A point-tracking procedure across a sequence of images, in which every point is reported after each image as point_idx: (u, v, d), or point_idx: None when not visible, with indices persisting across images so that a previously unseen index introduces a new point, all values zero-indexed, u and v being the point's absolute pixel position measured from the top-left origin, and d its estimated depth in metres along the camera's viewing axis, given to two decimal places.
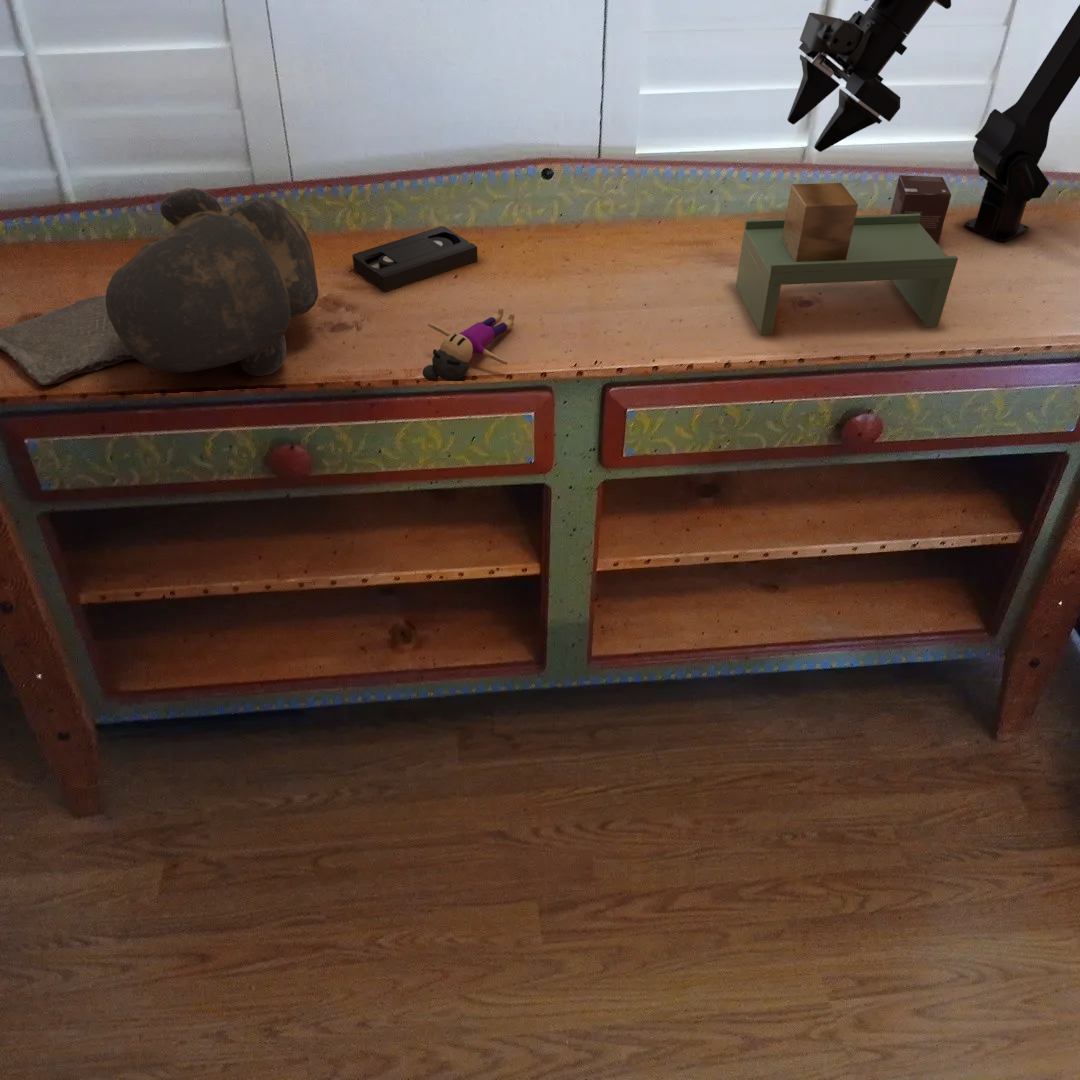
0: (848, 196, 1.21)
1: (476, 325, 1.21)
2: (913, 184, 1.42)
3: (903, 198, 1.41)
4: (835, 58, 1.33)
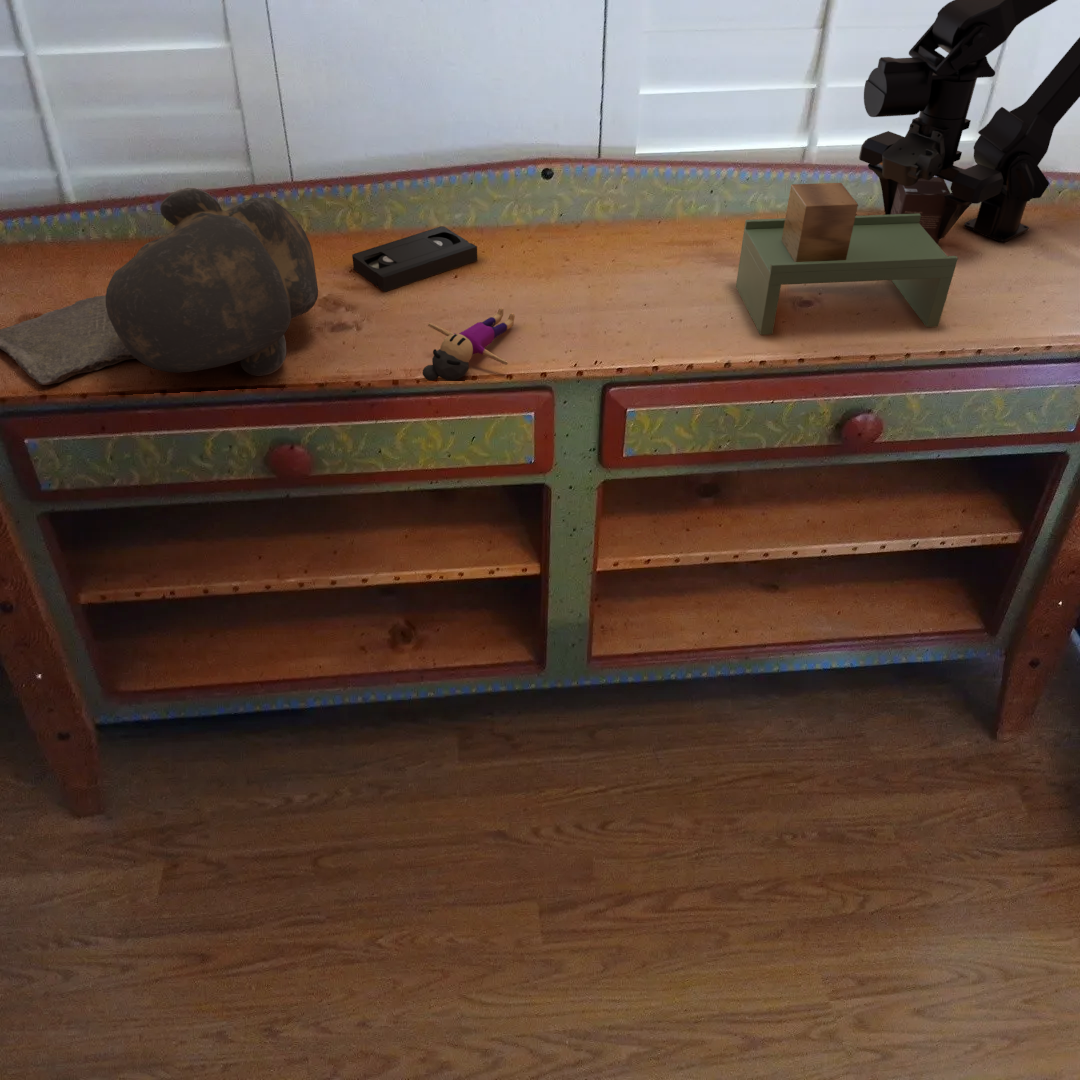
0: (848, 196, 1.21)
1: (476, 325, 1.21)
2: None
3: (903, 198, 1.41)
4: None
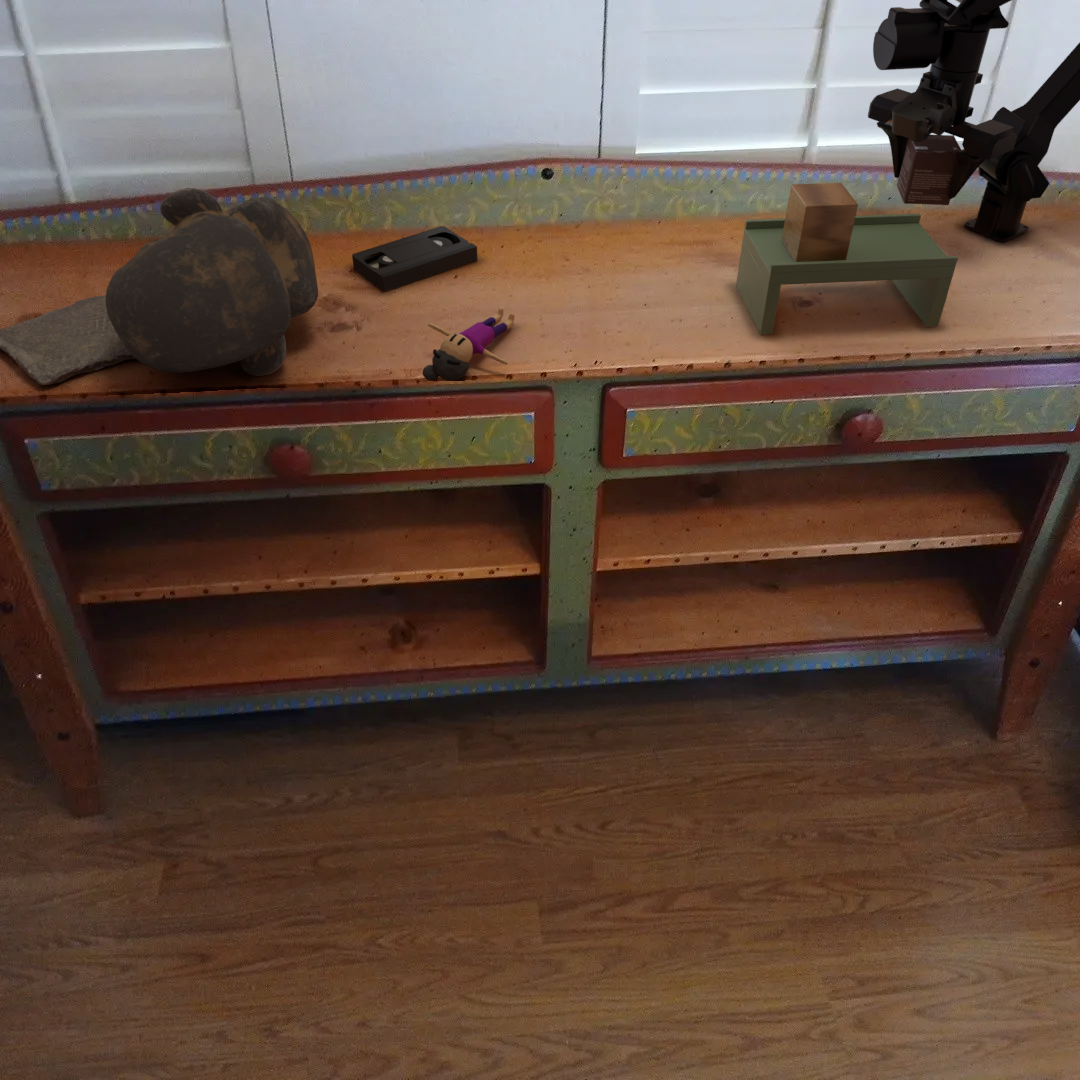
0: (848, 196, 1.21)
1: (476, 325, 1.21)
2: (923, 142, 1.39)
3: (913, 156, 1.38)
4: None
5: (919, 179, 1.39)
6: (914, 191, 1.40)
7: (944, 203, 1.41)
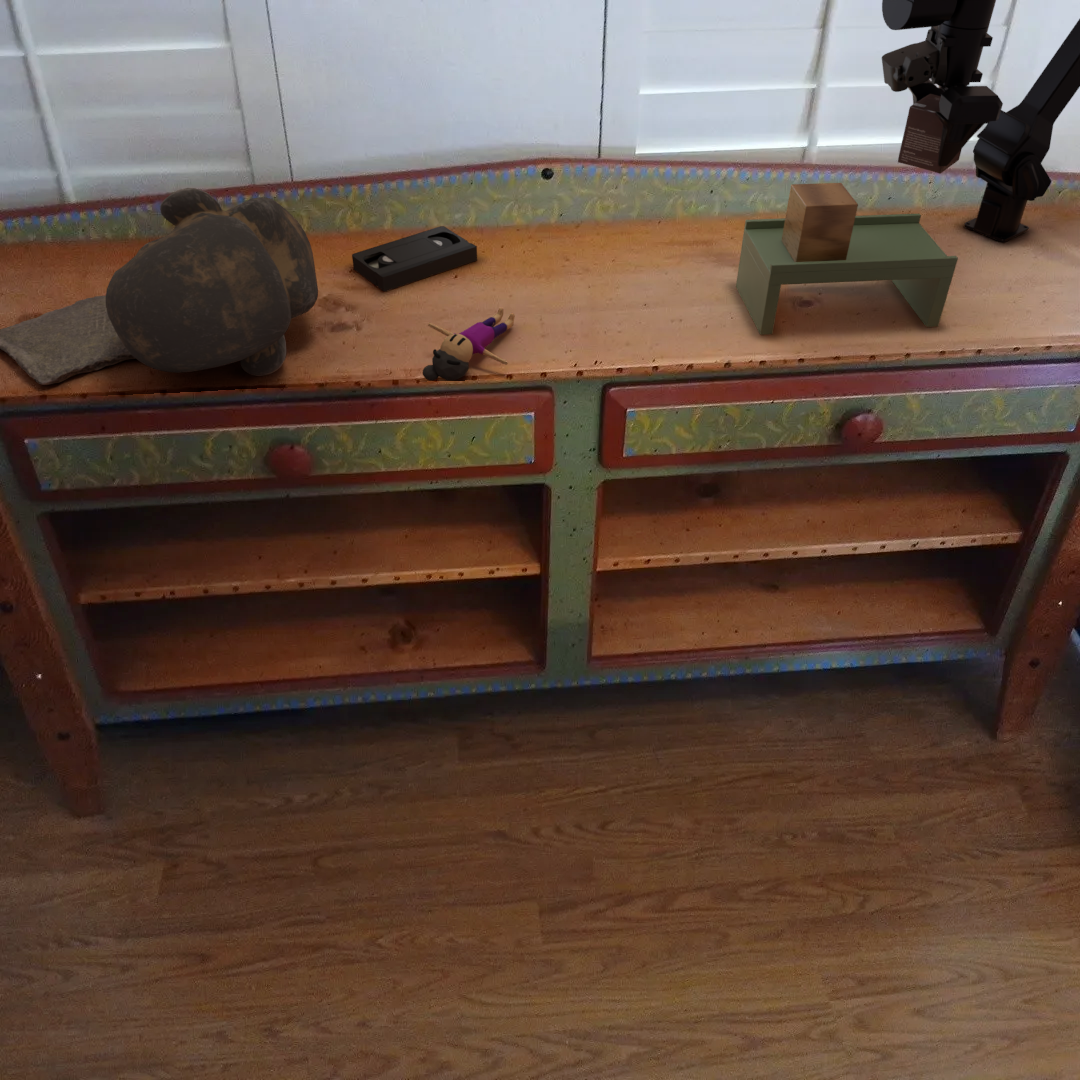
0: (848, 196, 1.21)
1: (476, 325, 1.21)
2: (930, 102, 1.34)
3: None
4: None
5: (912, 138, 1.34)
6: (907, 150, 1.36)
7: (936, 170, 1.35)
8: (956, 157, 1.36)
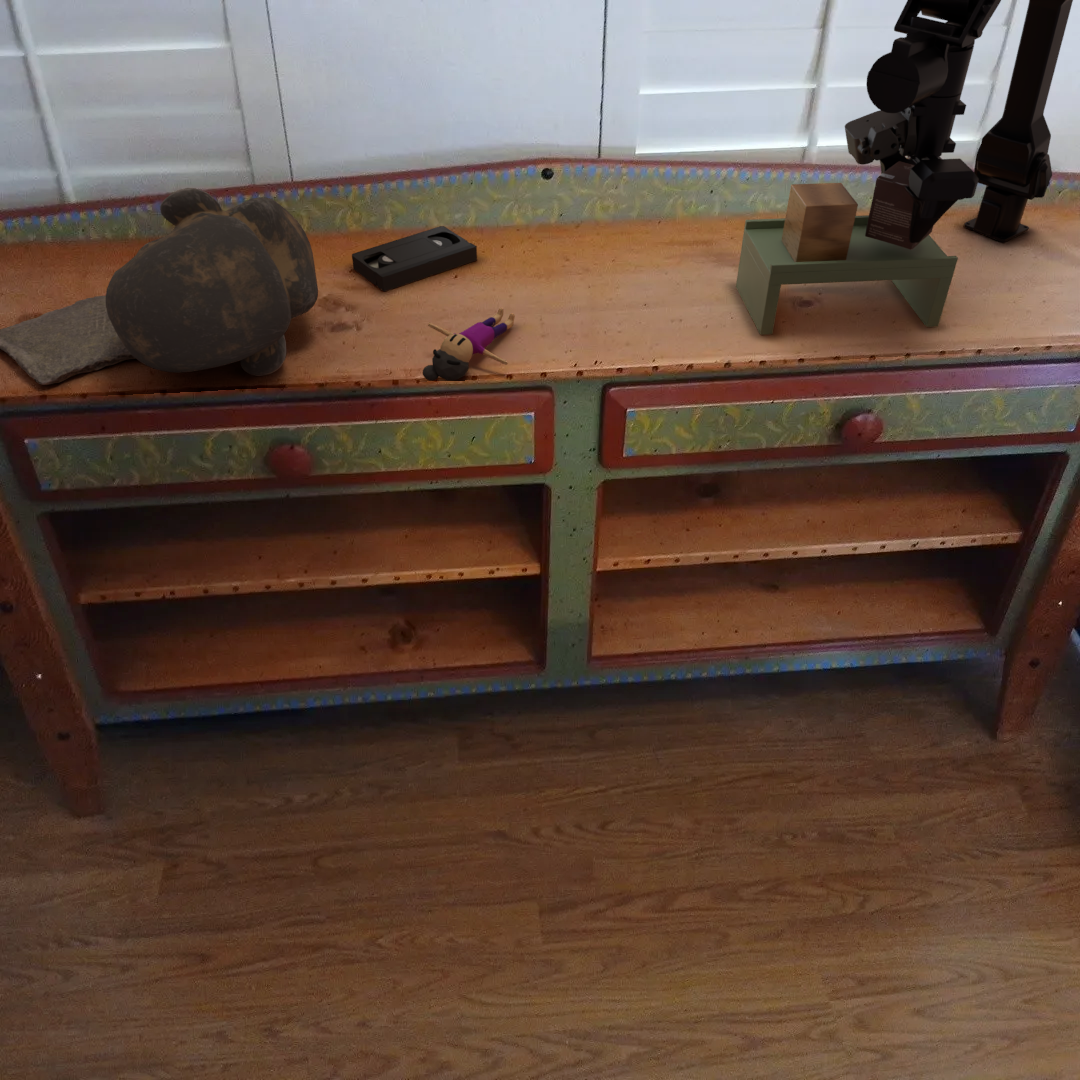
0: (848, 196, 1.21)
1: (476, 326, 1.21)
2: (898, 171, 1.21)
3: None
4: None
5: (880, 211, 1.22)
6: (875, 224, 1.23)
7: (907, 246, 1.22)
8: (929, 230, 1.24)
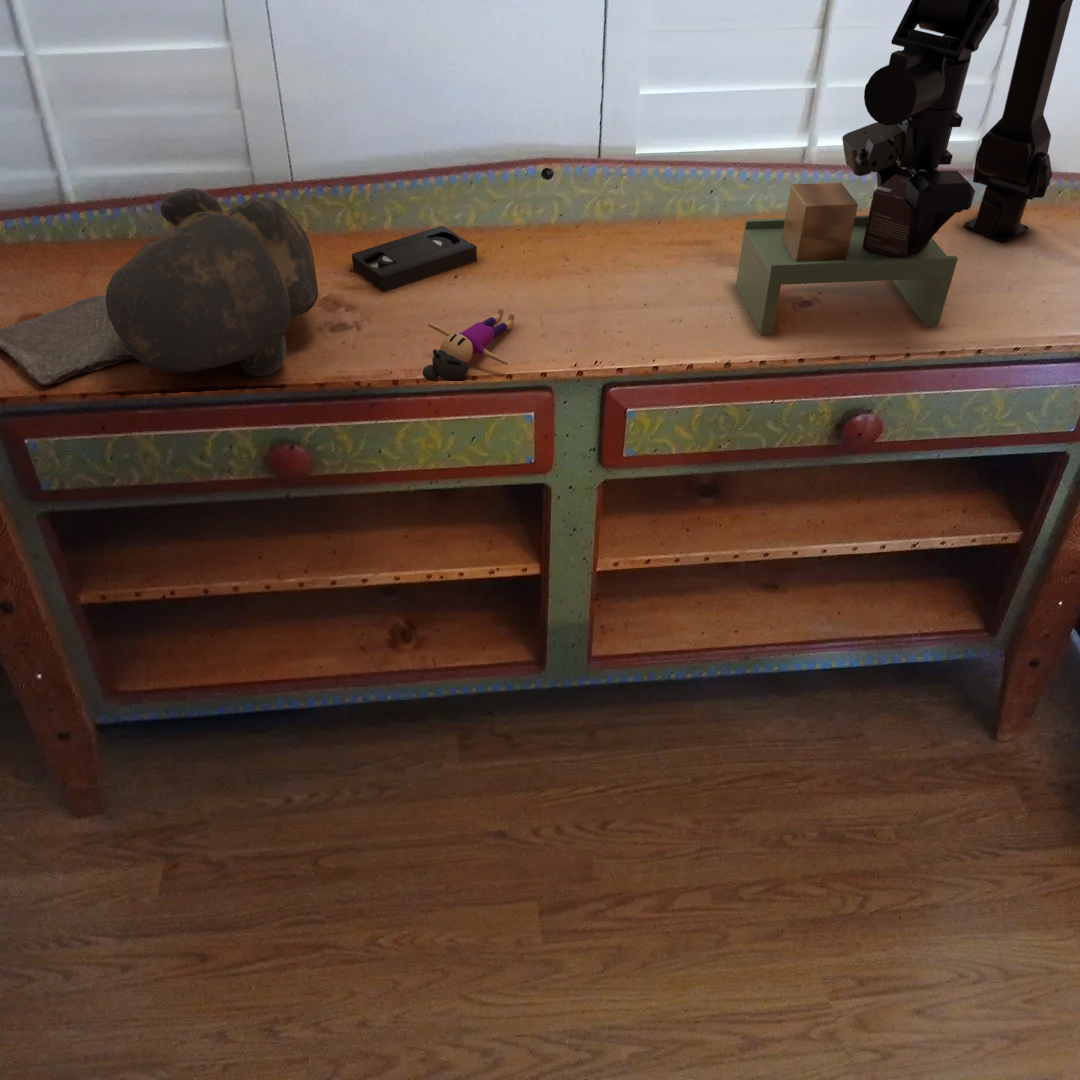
0: (848, 196, 1.21)
1: (476, 326, 1.21)
2: (895, 185, 1.22)
3: None
4: None
5: (877, 224, 1.23)
6: (872, 237, 1.24)
7: None
8: None
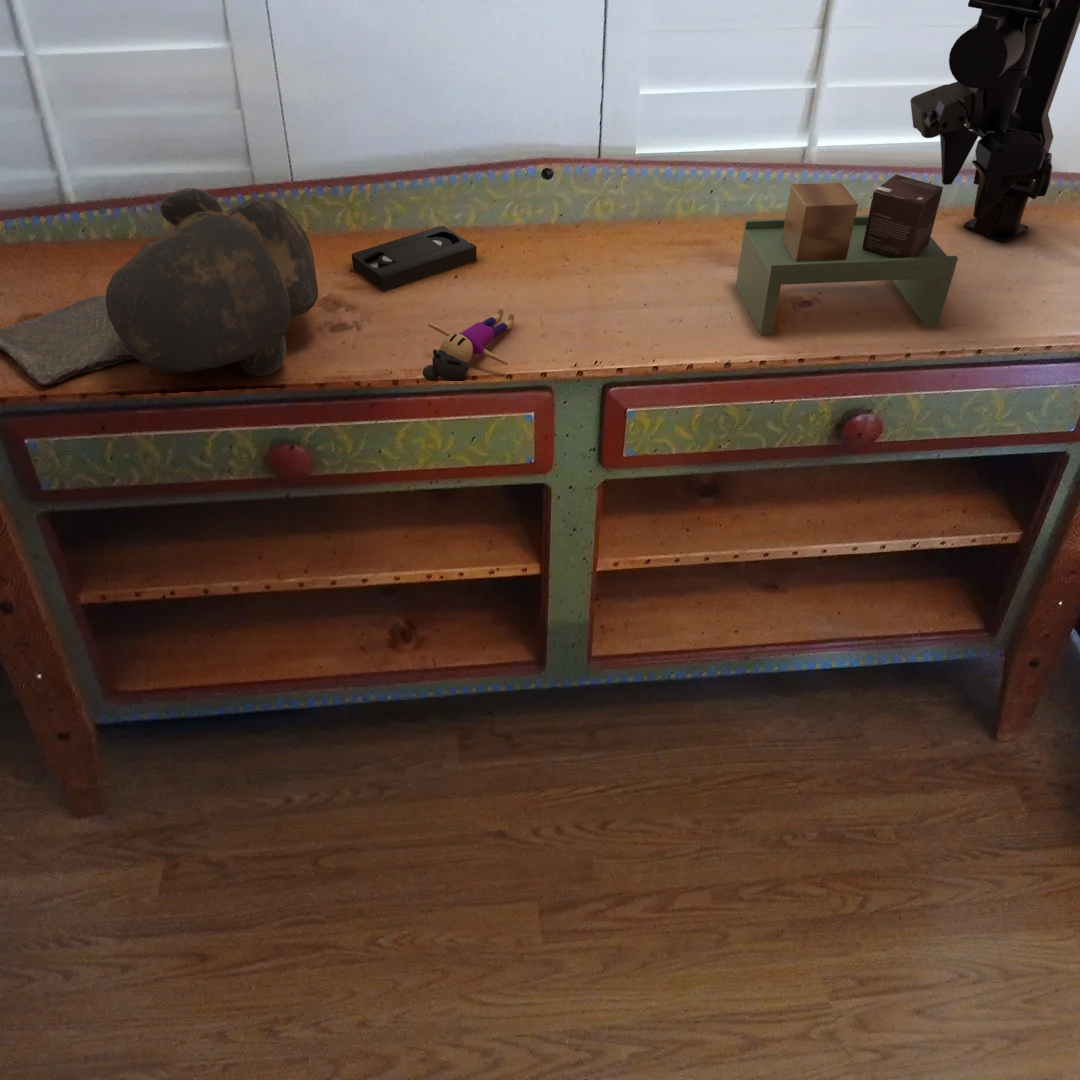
0: (848, 196, 1.21)
1: (476, 326, 1.21)
2: (895, 185, 1.22)
3: None
4: None
5: (877, 224, 1.23)
6: (872, 237, 1.24)
7: None
8: (925, 242, 1.25)
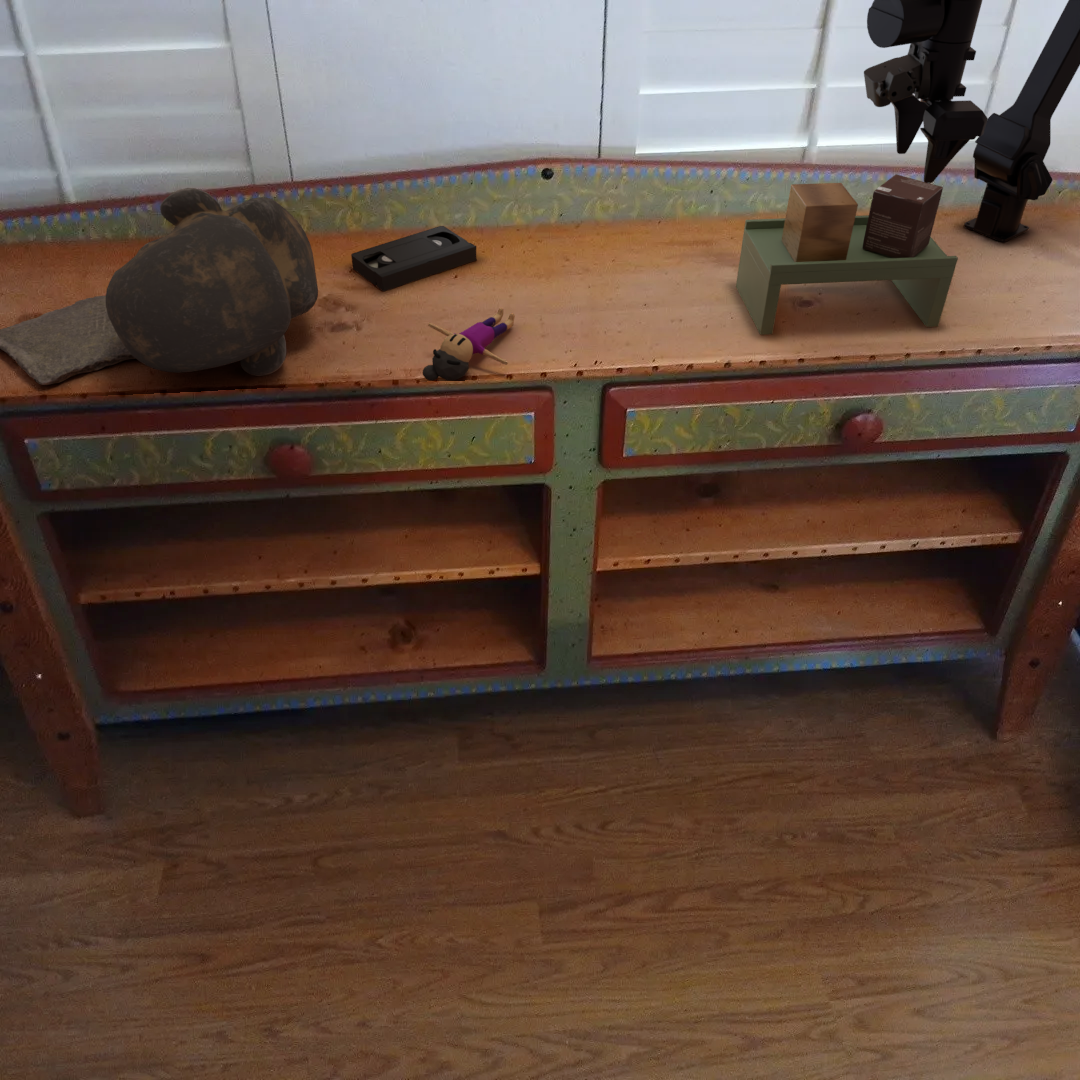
0: (848, 196, 1.21)
1: (476, 325, 1.21)
2: (895, 185, 1.22)
3: None
4: None
5: (877, 224, 1.23)
6: (872, 237, 1.24)
7: None
8: (925, 242, 1.25)
